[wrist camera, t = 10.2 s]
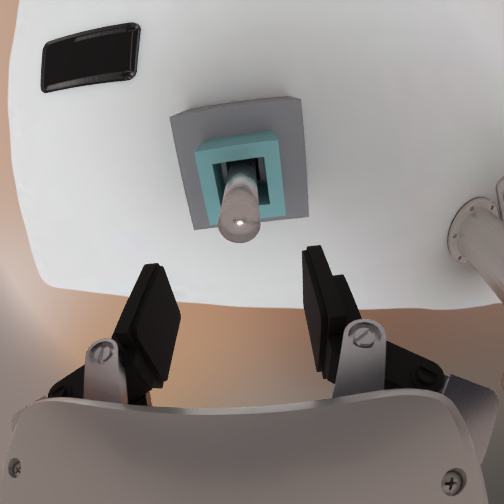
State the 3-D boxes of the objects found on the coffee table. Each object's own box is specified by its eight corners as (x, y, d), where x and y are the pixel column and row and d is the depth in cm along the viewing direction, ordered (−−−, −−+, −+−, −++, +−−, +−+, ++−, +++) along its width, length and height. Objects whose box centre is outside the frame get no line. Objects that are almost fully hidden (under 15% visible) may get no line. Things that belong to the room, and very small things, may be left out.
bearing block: (288, 96, 30) (300, 99, 23) (297, 189, 36) (308, 216, 29) (186, 110, 30) (169, 117, 24) (204, 200, 37) (194, 230, 30)
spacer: (272, 130, 25) (278, 139, 20) (280, 193, 28) (286, 215, 24) (203, 140, 25) (194, 152, 21) (215, 202, 28) (210, 225, 24)
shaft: (253, 149, 28) (257, 202, 16) (256, 171, 29) (262, 240, 17) (229, 152, 28) (214, 208, 16) (233, 174, 29) (222, 245, 17)
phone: (133, 79, 27) (40, 94, 26) (137, 79, 28) (44, 93, 27) (139, 20, 23) (43, 42, 22) (142, 22, 24) (47, 42, 23)
